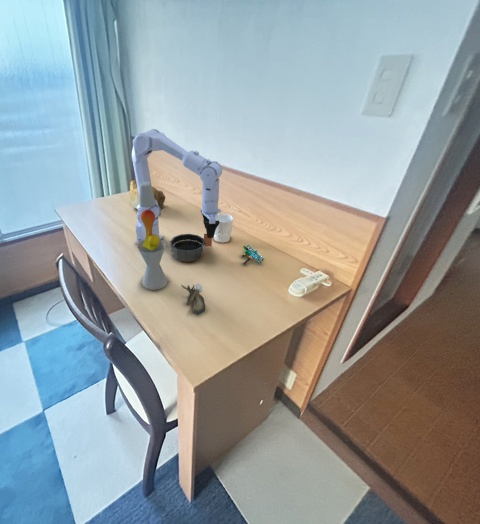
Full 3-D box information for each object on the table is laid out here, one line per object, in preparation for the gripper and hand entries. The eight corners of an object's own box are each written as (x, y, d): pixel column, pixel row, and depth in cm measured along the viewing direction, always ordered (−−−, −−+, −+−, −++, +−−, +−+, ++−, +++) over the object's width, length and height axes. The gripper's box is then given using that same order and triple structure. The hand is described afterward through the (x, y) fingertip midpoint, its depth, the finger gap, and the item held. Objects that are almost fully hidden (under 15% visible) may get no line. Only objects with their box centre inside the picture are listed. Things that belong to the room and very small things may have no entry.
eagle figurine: (175, 295, 90) (181, 310, 82) (185, 276, 88) (193, 290, 80) (194, 303, 93) (202, 318, 85) (205, 285, 91) (214, 299, 83)
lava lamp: (136, 283, 98) (122, 184, 78) (154, 271, 103) (145, 176, 84) (155, 293, 93) (145, 191, 73) (173, 280, 98) (168, 181, 79)
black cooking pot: (173, 264, 105) (172, 246, 101) (169, 246, 116) (168, 229, 112) (215, 259, 107) (216, 242, 102) (207, 242, 118) (208, 226, 113)
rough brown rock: (174, 213, 147) (175, 185, 139) (145, 219, 139) (144, 189, 132) (154, 201, 164) (153, 175, 157) (127, 205, 157) (125, 178, 149)
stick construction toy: (268, 261, 102) (257, 246, 99) (255, 274, 102) (243, 260, 99) (252, 253, 113) (241, 239, 110) (239, 265, 113) (228, 252, 111)
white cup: (230, 244, 118) (232, 222, 112) (211, 242, 119) (212, 221, 114) (231, 235, 124) (233, 214, 118) (213, 233, 126) (214, 213, 120)
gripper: (225, 206, 93) (222, 241, 101) (218, 190, 105) (216, 223, 113) (204, 207, 93) (203, 242, 101) (199, 191, 105) (199, 224, 113)
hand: (209, 232), depth 107 cm, fingers open, 7 cm apart
